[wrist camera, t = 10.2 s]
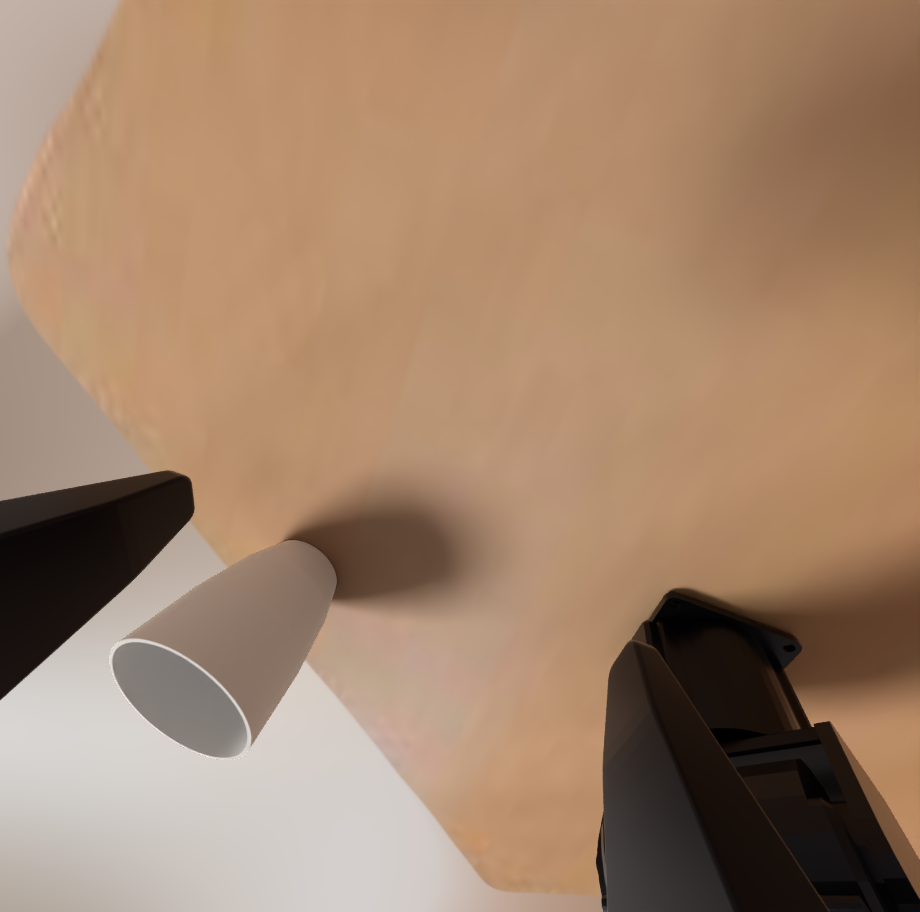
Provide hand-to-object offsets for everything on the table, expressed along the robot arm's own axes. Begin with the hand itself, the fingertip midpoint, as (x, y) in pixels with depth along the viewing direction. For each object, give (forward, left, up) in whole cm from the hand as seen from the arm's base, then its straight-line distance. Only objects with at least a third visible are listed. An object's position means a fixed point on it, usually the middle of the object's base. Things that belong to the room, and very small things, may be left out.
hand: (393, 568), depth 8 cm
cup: (+10, +17, -13) cm, 23 cm away
